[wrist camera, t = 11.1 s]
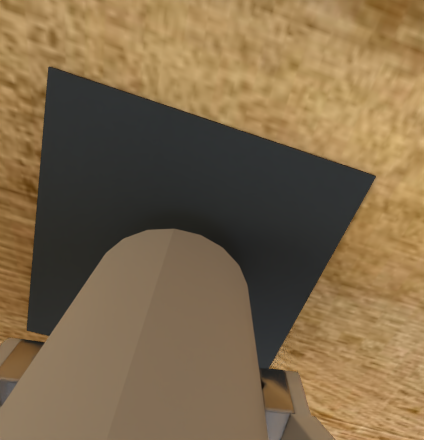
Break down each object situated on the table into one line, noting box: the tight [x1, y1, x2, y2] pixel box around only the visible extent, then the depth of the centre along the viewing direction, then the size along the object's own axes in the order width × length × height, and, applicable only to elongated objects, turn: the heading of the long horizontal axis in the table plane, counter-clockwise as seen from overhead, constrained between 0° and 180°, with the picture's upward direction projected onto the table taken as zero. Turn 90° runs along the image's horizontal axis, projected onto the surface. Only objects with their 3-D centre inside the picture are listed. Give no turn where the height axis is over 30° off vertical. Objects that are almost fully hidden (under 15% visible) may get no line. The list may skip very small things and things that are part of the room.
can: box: [0, 229, 269, 440], centre depth 10 cm, size 8×8×12 cm
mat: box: [27, 67, 376, 369], centre depth 17 cm, size 16×16×1 cm
